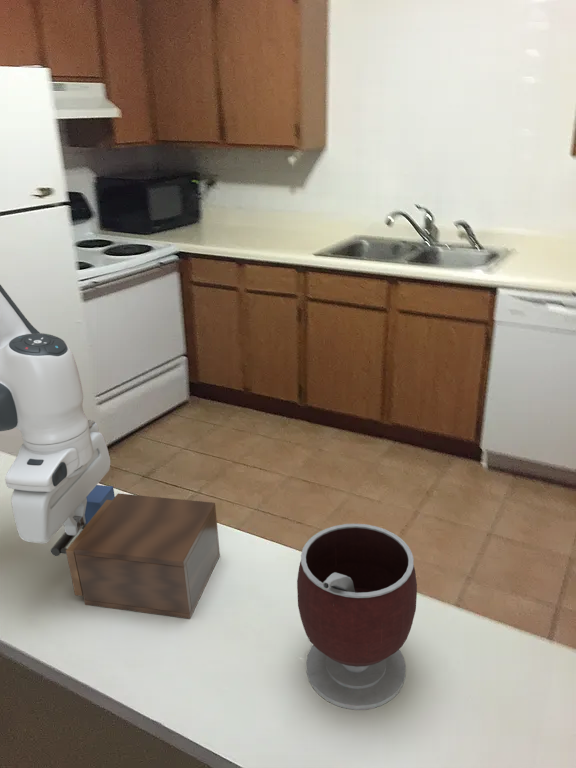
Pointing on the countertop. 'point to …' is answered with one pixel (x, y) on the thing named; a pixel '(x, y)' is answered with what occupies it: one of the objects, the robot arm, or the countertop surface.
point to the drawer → (65, 540)
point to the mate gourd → (356, 613)
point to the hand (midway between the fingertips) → (76, 529)
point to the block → (97, 500)
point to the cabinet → (149, 555)
